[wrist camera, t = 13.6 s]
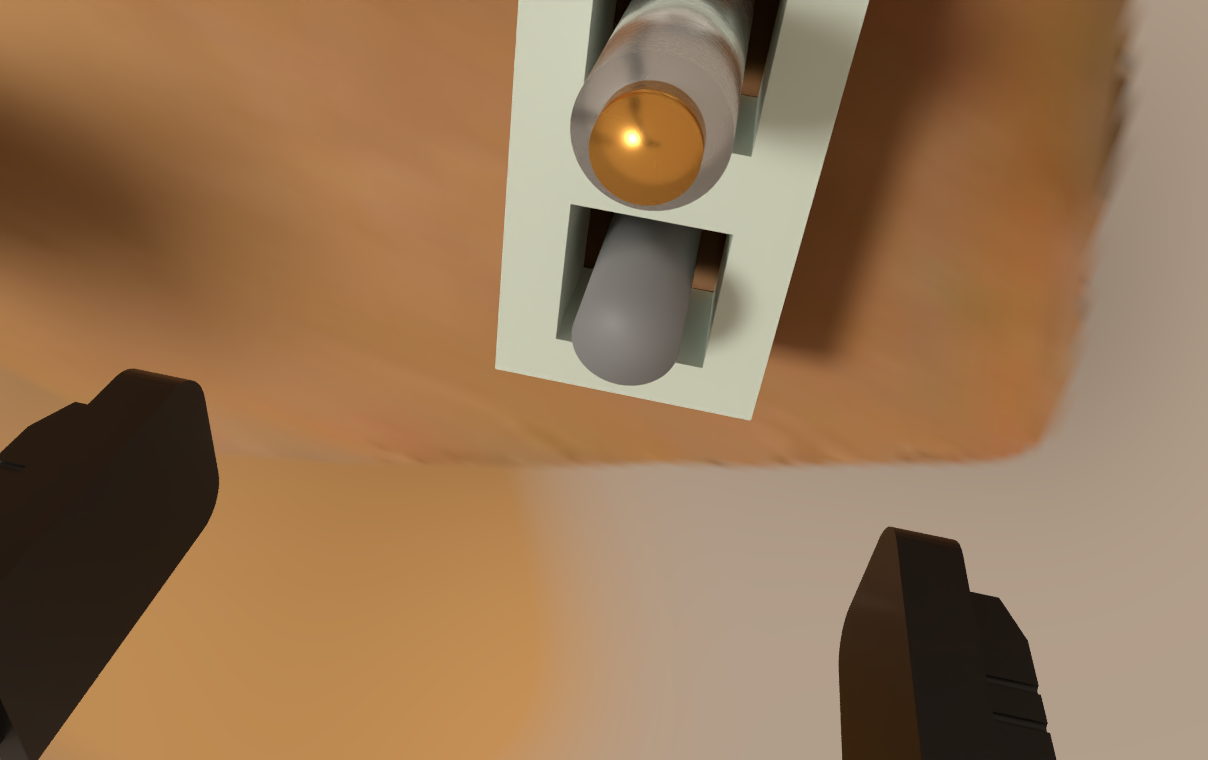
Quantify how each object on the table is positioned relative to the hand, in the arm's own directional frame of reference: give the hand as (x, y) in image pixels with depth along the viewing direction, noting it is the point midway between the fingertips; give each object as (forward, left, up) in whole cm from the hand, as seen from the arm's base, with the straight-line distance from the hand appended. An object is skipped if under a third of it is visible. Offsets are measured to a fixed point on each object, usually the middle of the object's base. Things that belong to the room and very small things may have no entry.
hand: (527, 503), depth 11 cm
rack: (+4, 0, -23) cm, 23 cm away
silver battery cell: (0, 0, -23) cm, 23 cm away
